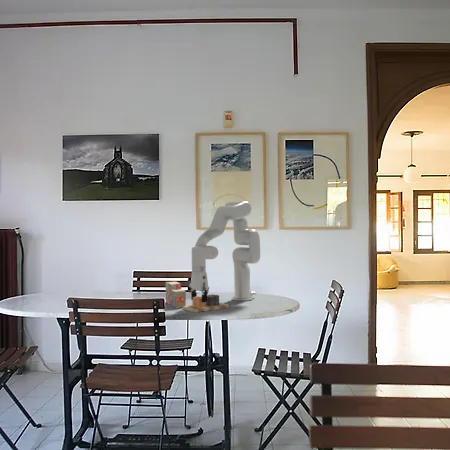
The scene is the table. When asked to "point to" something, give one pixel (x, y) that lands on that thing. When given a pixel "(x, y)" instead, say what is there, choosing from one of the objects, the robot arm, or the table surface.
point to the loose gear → (198, 302)
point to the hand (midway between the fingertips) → (199, 300)
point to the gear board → (208, 305)
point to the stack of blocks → (175, 294)
